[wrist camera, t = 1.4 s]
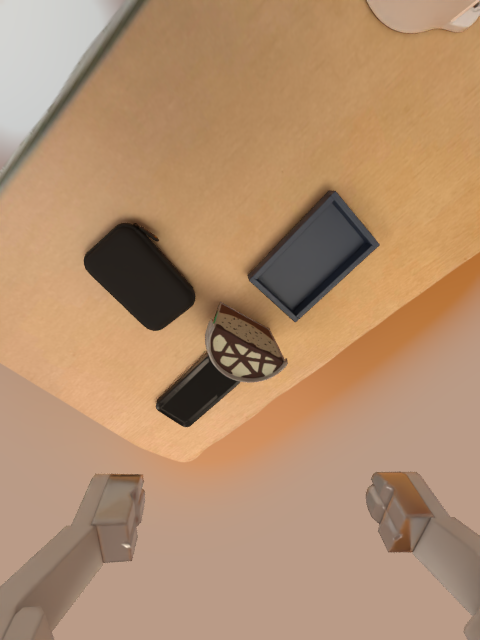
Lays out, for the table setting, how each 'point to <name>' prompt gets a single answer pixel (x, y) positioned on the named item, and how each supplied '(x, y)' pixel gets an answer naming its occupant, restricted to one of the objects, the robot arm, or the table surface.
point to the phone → (195, 393)
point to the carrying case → (139, 276)
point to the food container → (242, 347)
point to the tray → (313, 256)
